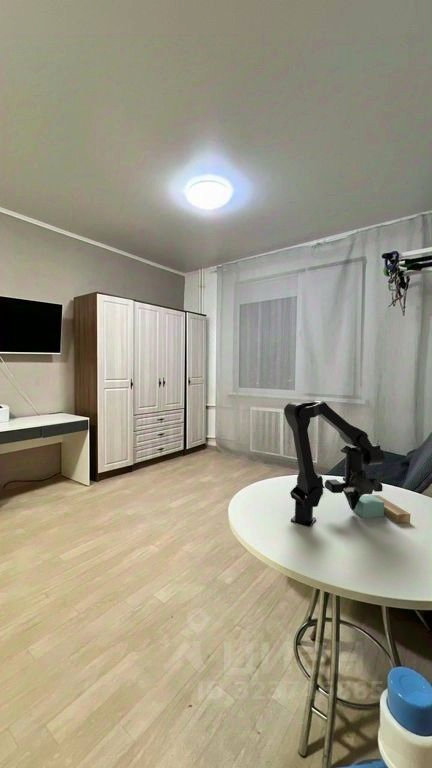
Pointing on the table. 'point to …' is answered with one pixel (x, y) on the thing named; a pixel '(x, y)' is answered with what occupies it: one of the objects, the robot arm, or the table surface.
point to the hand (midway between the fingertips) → (352, 509)
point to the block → (369, 507)
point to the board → (394, 511)
